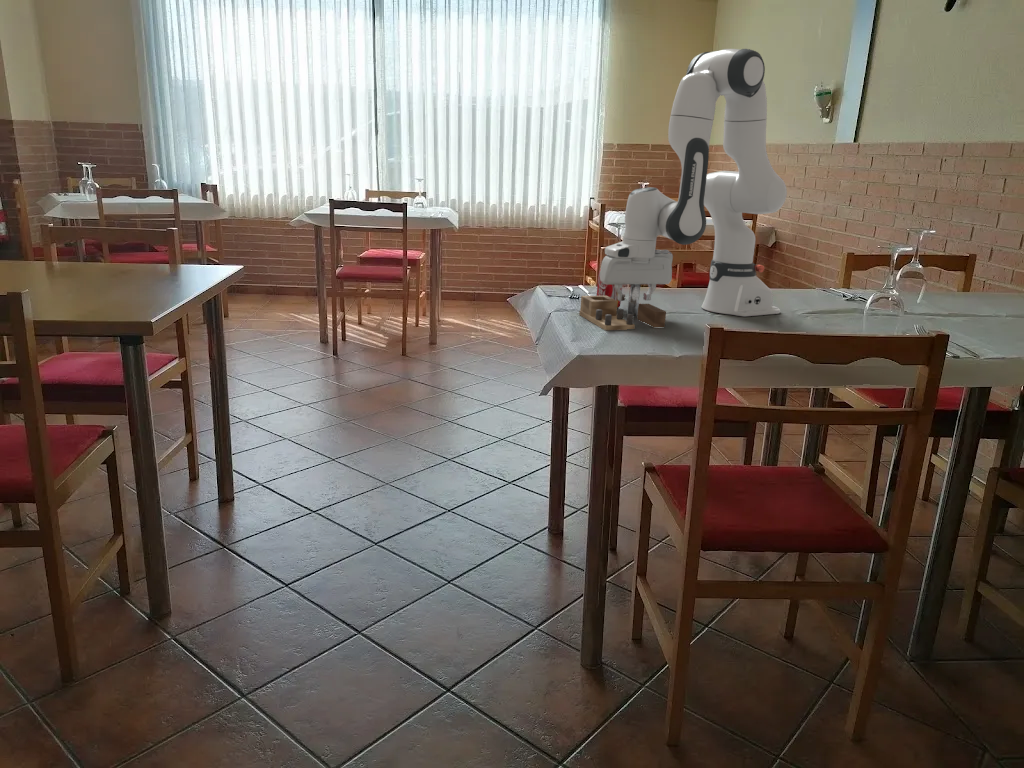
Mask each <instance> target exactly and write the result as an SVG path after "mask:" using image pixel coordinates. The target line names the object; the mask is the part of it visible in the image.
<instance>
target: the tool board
mask: <svg viewBox="0 0 1024 768" xmlns="http://www.w3.org/2000/svg"><path fill="white" fill-rule="evenodd" d="M580 299H581V300H580V310H579V313H578V315H579V316H581V317H582V318H584V319H586V320H587V321H589V322H591V323H592V324H594V325H595V326H597V327H599V328H601V329H602V330H604V331H628V330H627V329H634V330H635V328H636V327H635V325H636V324H634V317H635V316H634V315H633V314H628V313H627V314H626V319H624V309H623V308H617V302H618V301H617V300H615V299H613V298H610V297H608V296H597V295H581V296H580Z"/></svg>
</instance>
